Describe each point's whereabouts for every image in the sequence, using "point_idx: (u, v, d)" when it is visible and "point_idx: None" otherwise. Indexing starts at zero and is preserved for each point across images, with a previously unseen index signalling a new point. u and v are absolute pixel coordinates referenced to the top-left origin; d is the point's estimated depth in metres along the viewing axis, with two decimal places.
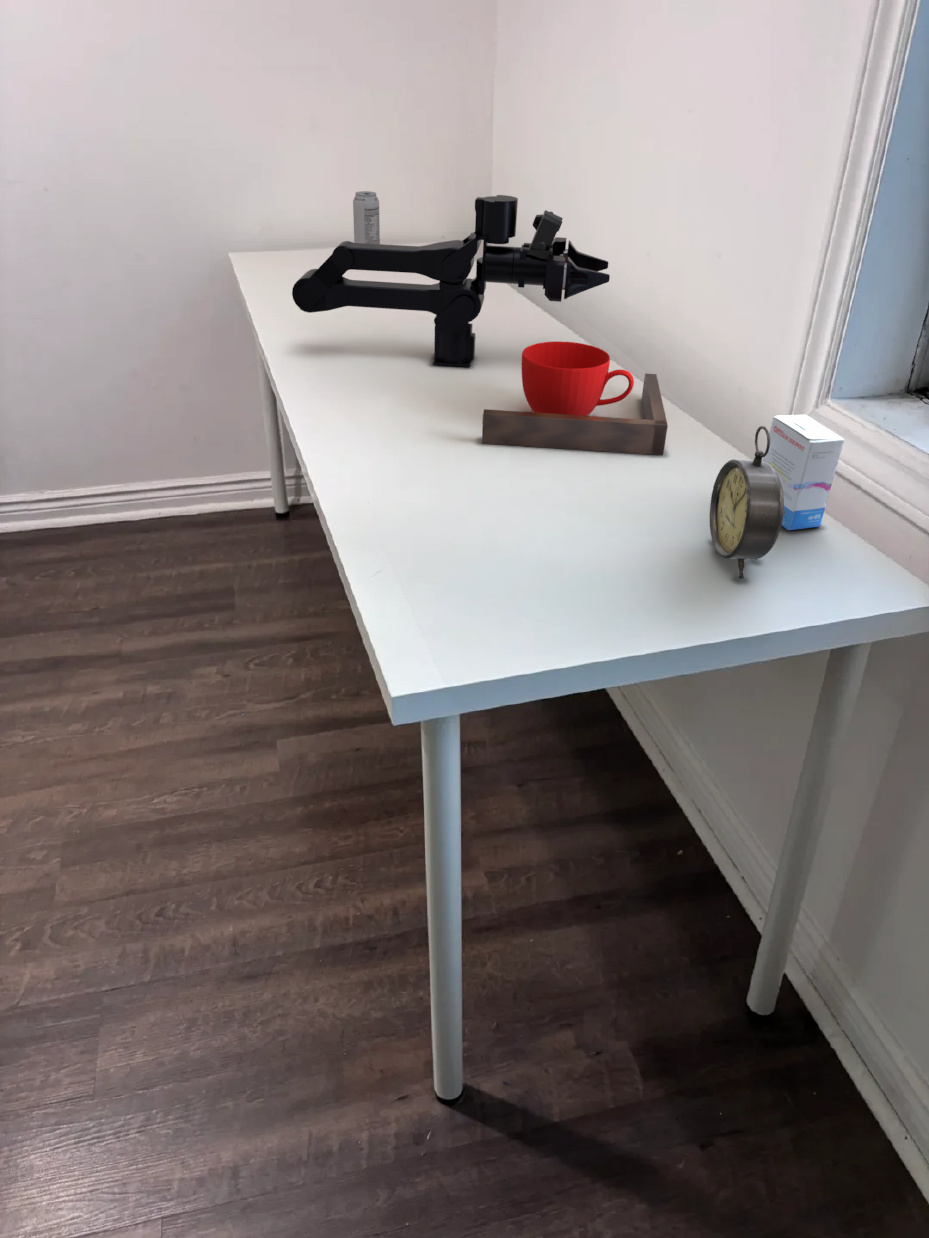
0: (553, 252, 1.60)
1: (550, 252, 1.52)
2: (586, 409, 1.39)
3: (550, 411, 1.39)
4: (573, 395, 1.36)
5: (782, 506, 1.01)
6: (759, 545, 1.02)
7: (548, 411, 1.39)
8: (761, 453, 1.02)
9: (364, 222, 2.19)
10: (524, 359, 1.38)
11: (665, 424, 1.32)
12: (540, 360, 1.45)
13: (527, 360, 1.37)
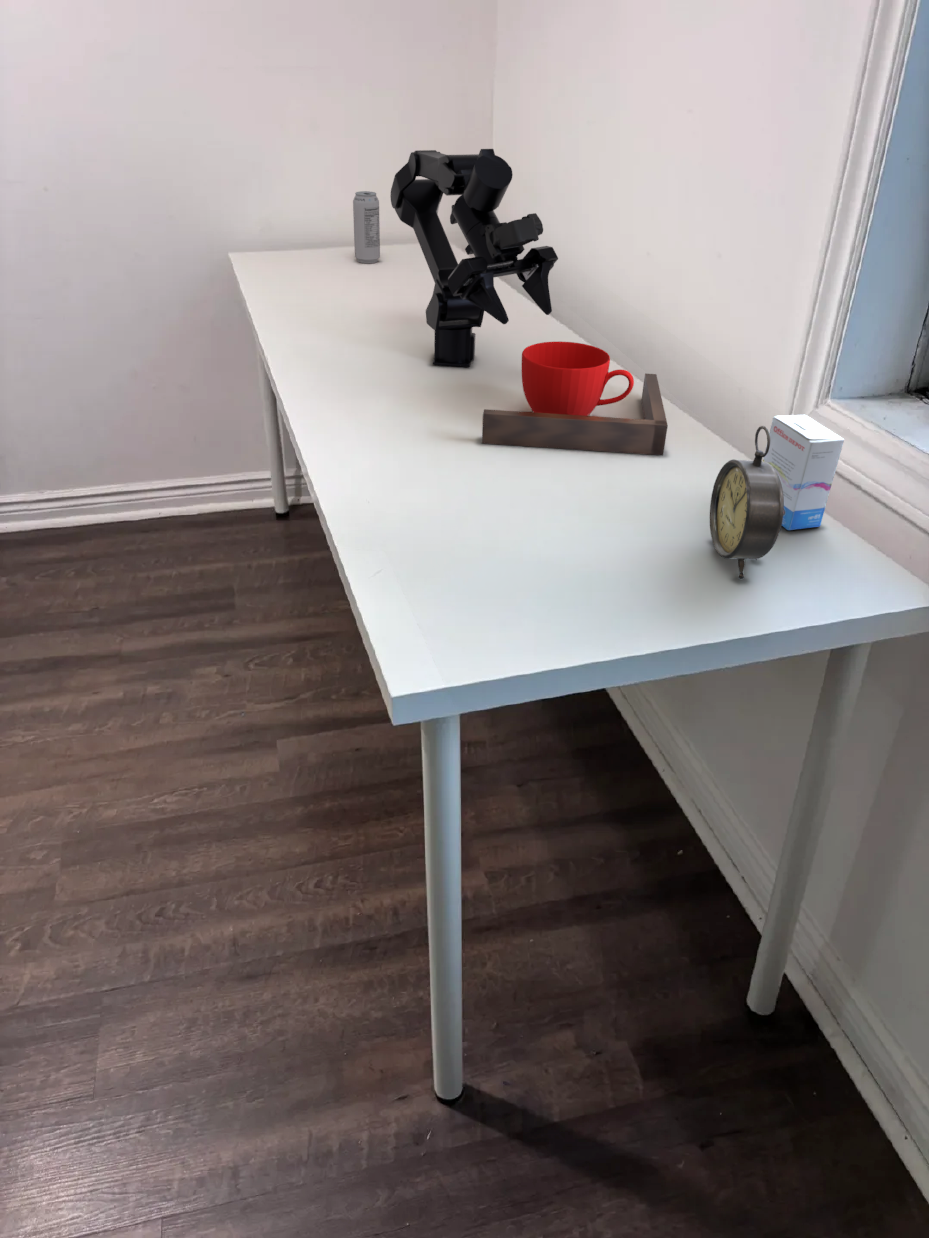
0: (530, 256, 1.47)
1: (495, 253, 1.41)
2: (586, 409, 1.39)
3: (550, 411, 1.39)
4: (573, 395, 1.36)
5: (782, 506, 1.01)
6: (759, 545, 1.02)
7: (548, 411, 1.39)
8: (761, 453, 1.02)
9: (364, 222, 2.19)
10: (524, 359, 1.38)
11: (665, 424, 1.32)
12: (540, 360, 1.45)
13: (527, 360, 1.37)
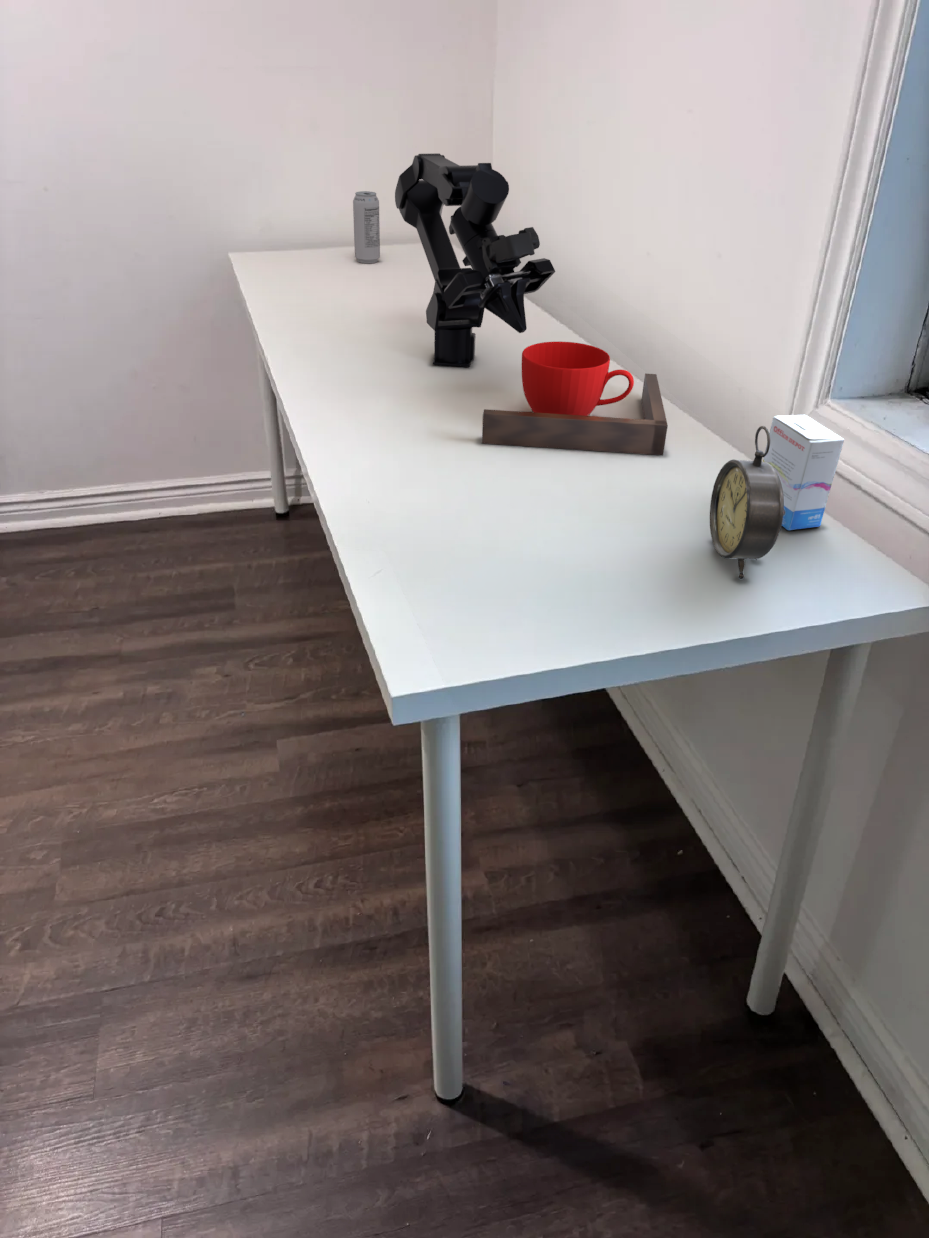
0: (527, 268, 1.48)
1: (491, 266, 1.42)
2: (586, 409, 1.39)
3: (550, 411, 1.39)
4: (573, 395, 1.36)
5: (782, 506, 1.01)
6: (759, 545, 1.02)
7: (548, 411, 1.39)
8: (761, 453, 1.02)
9: (364, 222, 2.19)
10: (524, 359, 1.38)
11: (665, 424, 1.32)
12: (540, 360, 1.45)
13: (527, 360, 1.37)
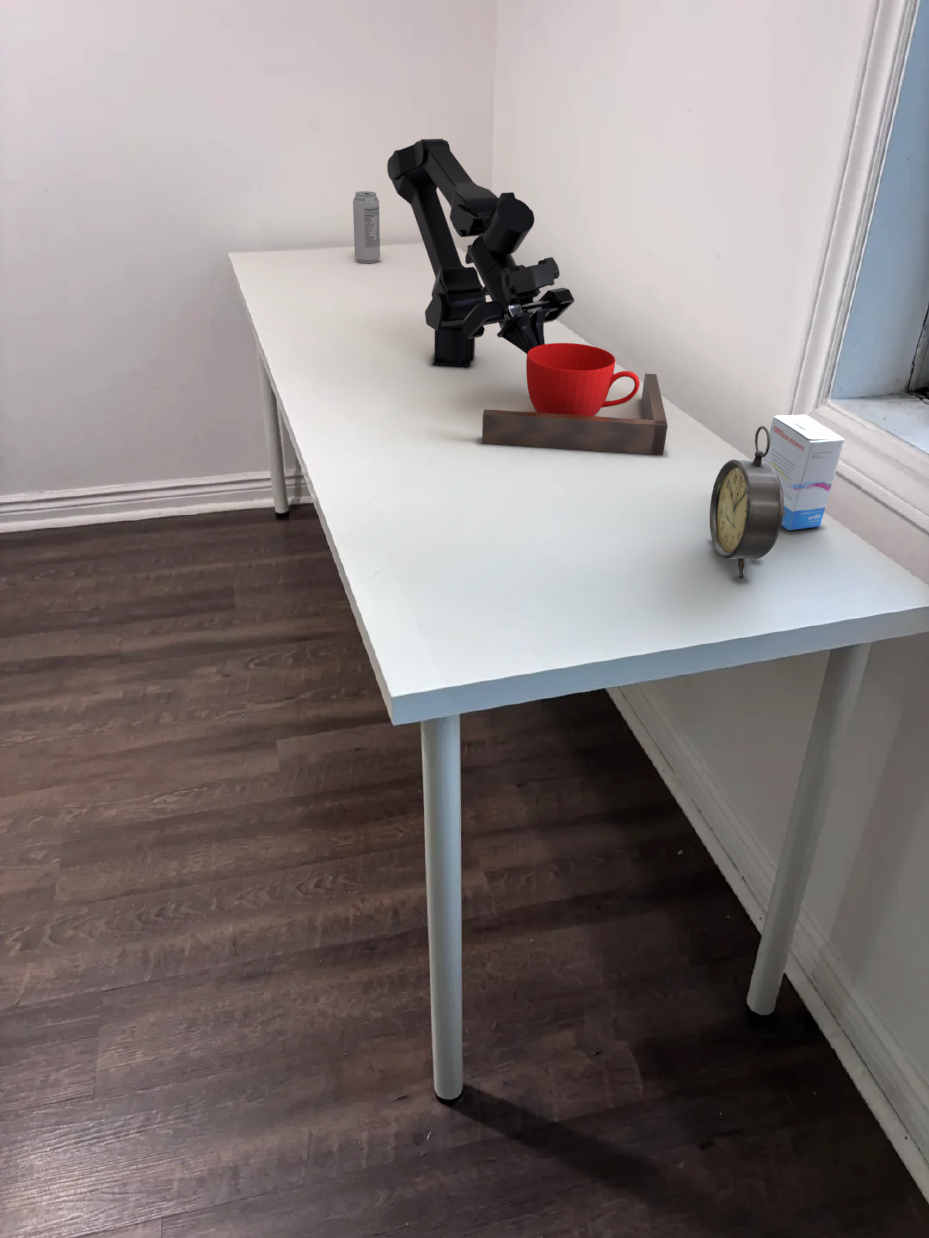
0: (547, 298, 1.47)
1: (511, 297, 1.41)
2: (592, 411, 1.38)
3: (556, 413, 1.38)
4: (579, 397, 1.35)
5: (782, 506, 1.01)
6: (759, 545, 1.02)
7: (554, 413, 1.38)
8: (761, 453, 1.02)
9: (364, 222, 2.19)
10: (529, 361, 1.37)
11: (665, 424, 1.32)
12: (544, 361, 1.44)
13: (533, 362, 1.36)
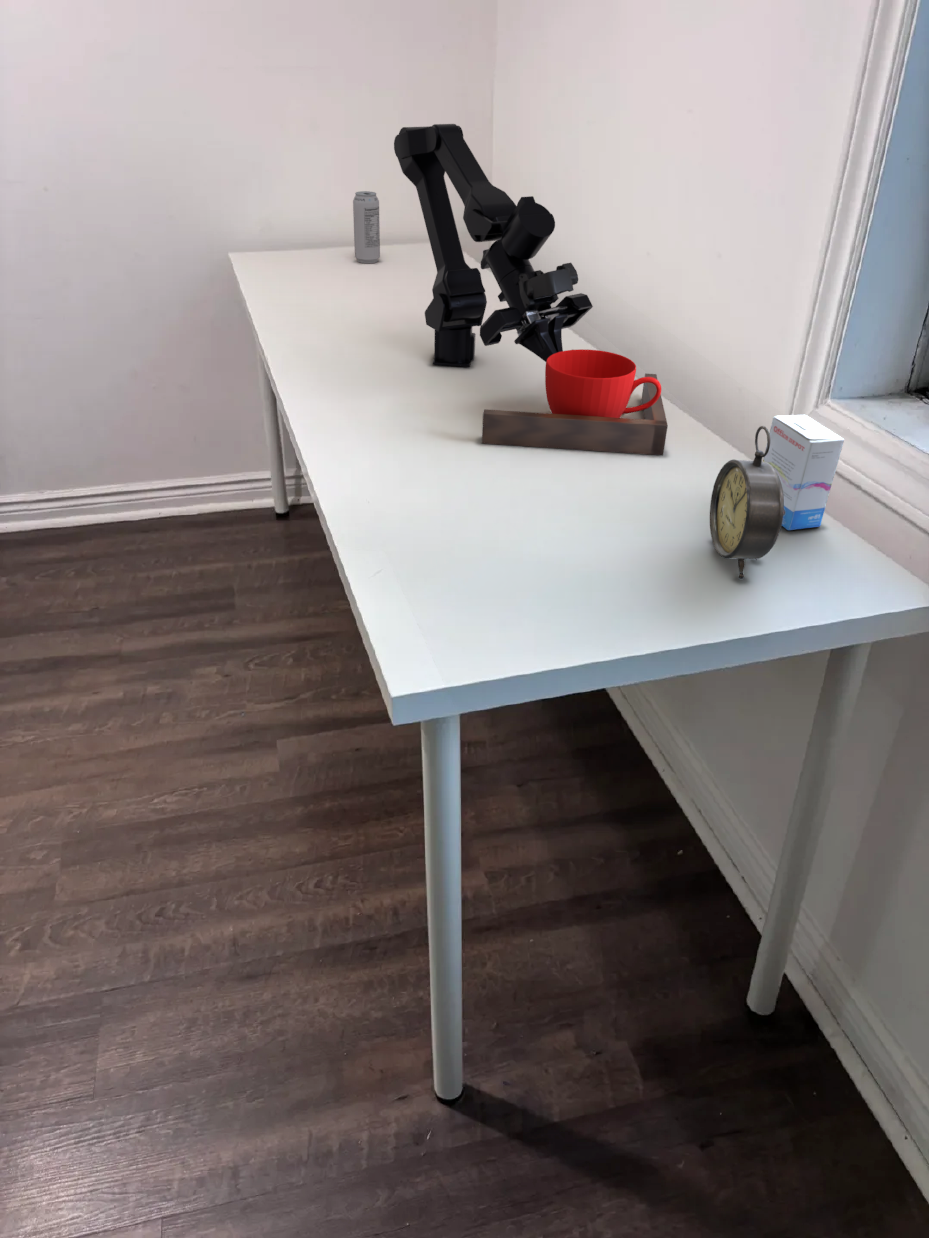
0: (564, 303, 1.44)
1: (529, 303, 1.39)
2: None
3: None
4: (603, 405, 1.33)
5: (782, 506, 1.01)
6: (759, 545, 1.02)
7: None
8: (761, 453, 1.02)
9: (364, 222, 2.19)
10: (550, 369, 1.34)
11: (665, 424, 1.32)
12: (561, 369, 1.41)
13: (554, 370, 1.33)
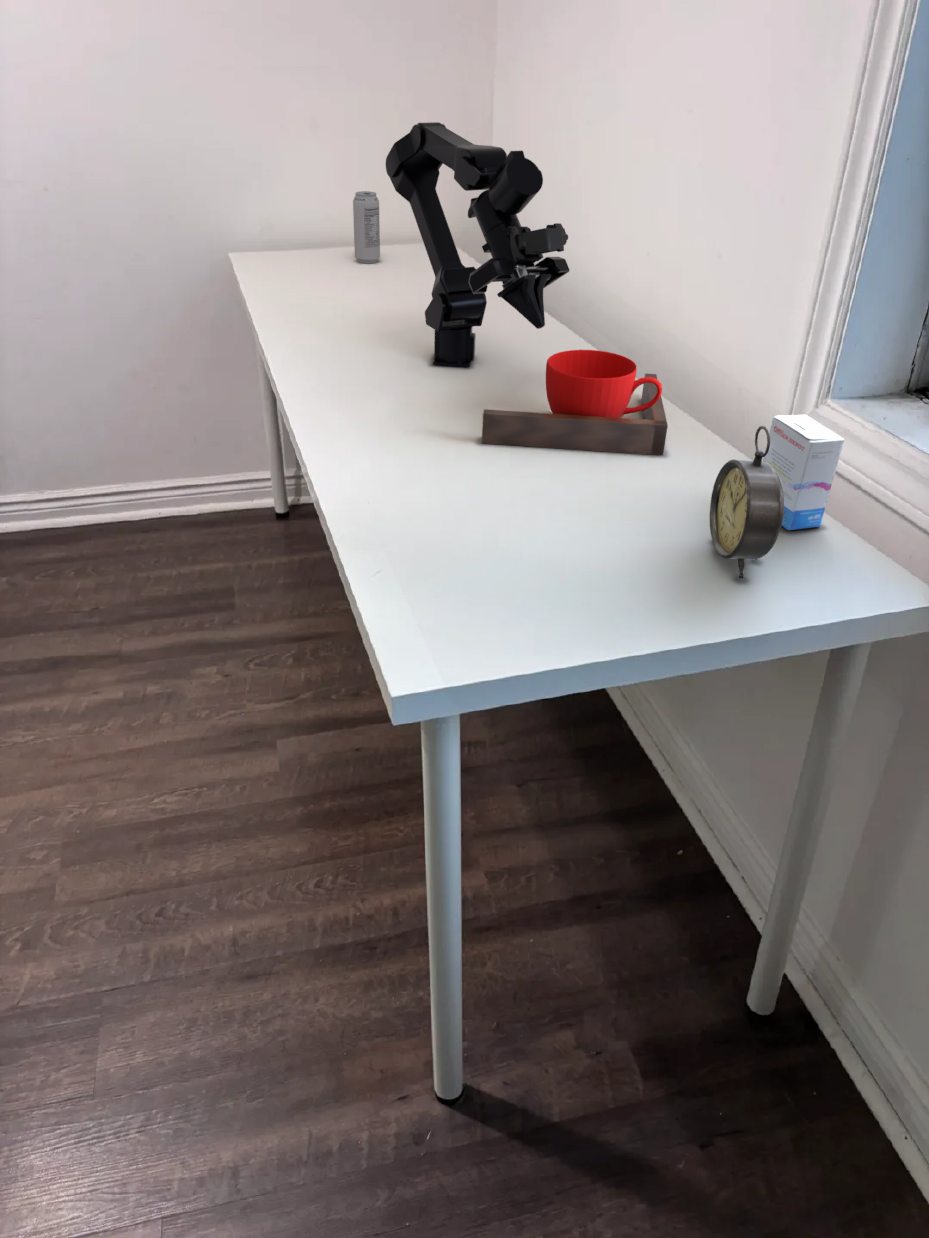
0: (544, 264, 1.46)
1: (520, 257, 1.39)
2: None
3: None
4: (604, 405, 1.33)
5: (782, 506, 1.01)
6: (759, 545, 1.02)
7: None
8: (761, 453, 1.02)
9: (364, 222, 2.19)
10: (551, 369, 1.34)
11: (665, 424, 1.32)
12: (561, 369, 1.41)
13: (555, 371, 1.33)
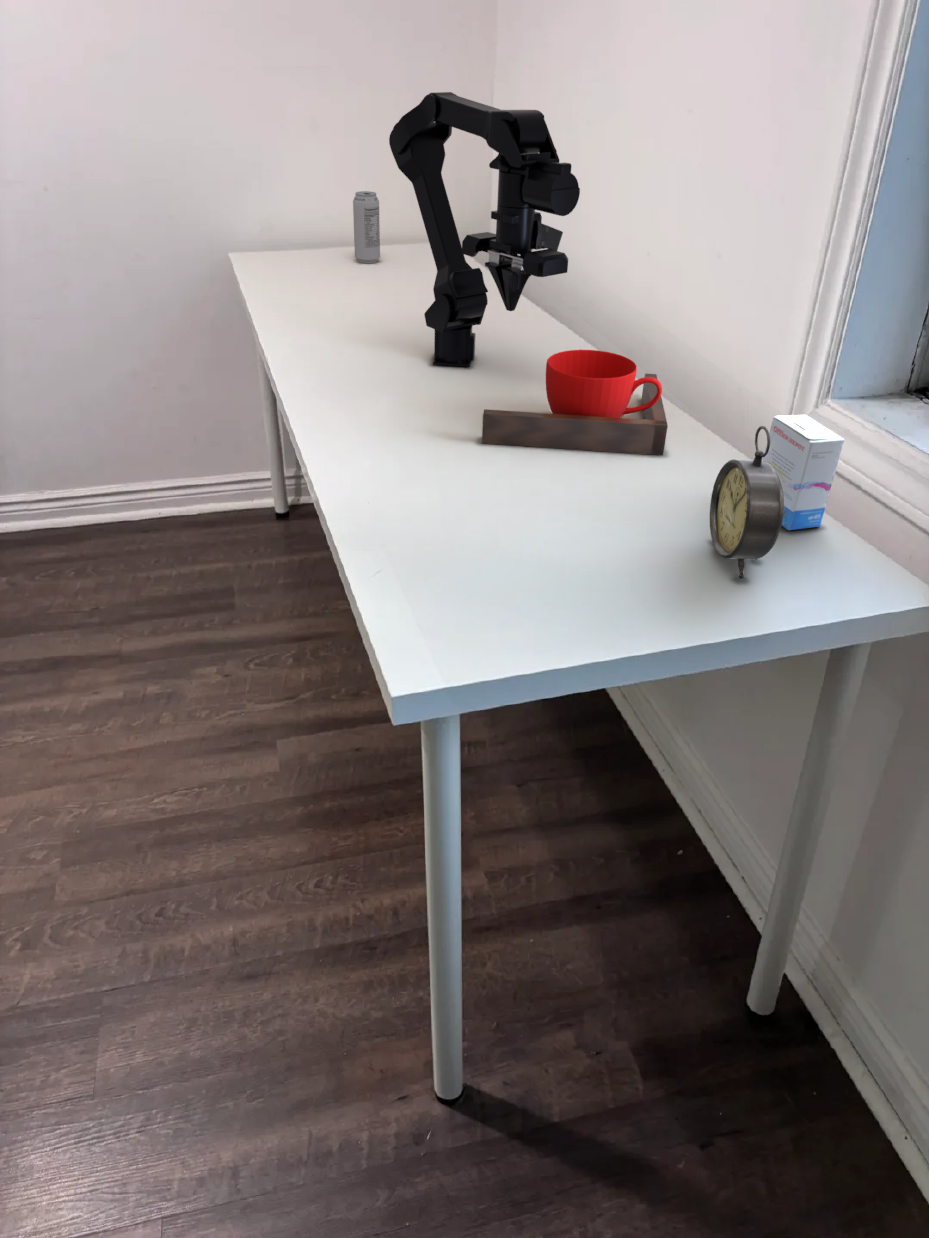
0: None
1: (541, 247, 1.45)
2: None
3: None
4: (604, 405, 1.33)
5: (782, 506, 1.01)
6: (759, 545, 1.02)
7: None
8: (761, 453, 1.02)
9: (364, 222, 2.19)
10: (551, 369, 1.34)
11: (665, 424, 1.32)
12: (561, 369, 1.41)
13: (555, 371, 1.33)
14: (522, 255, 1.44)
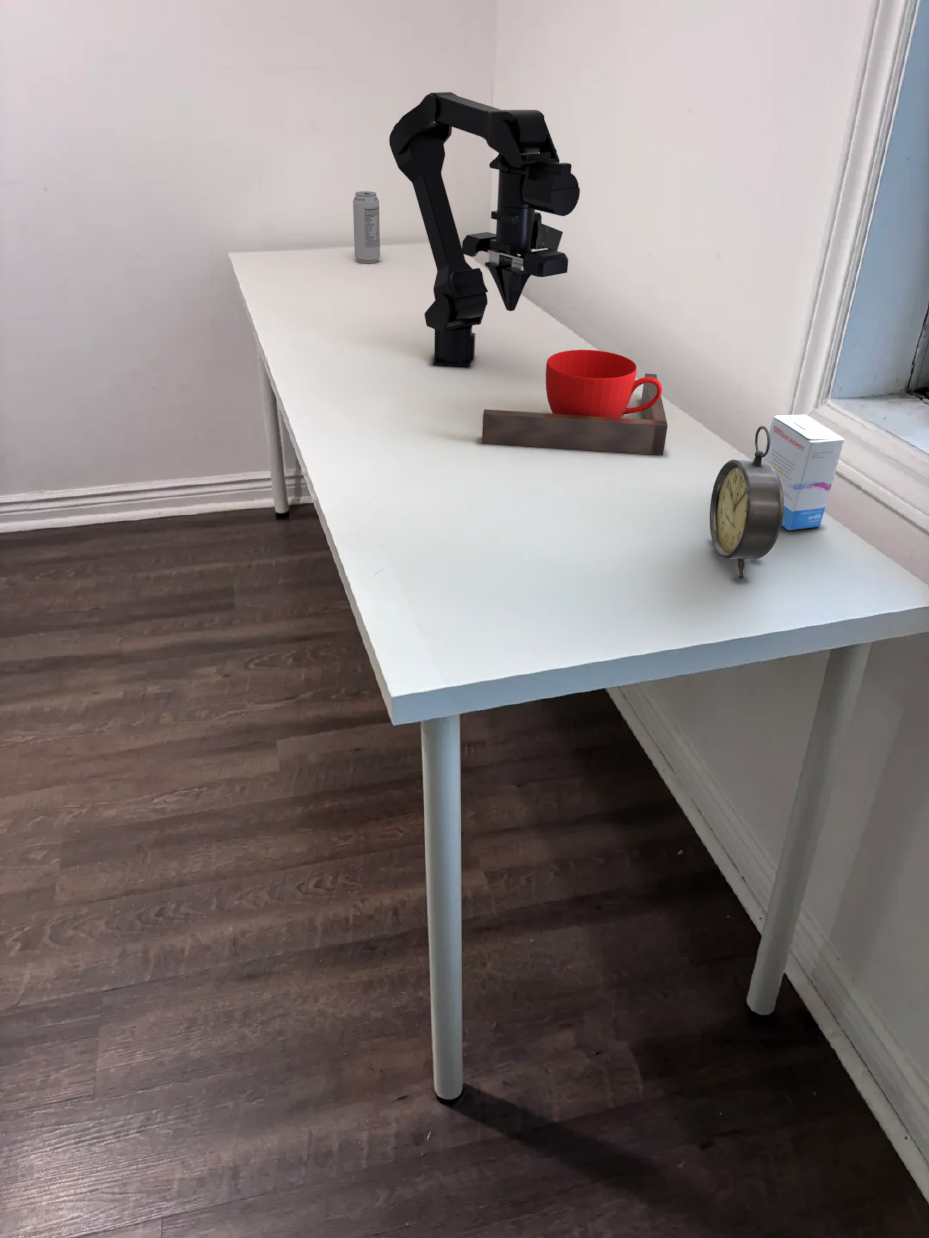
0: None
1: (541, 247, 1.45)
2: None
3: None
4: (604, 405, 1.33)
5: (782, 506, 1.01)
6: (759, 545, 1.02)
7: None
8: (761, 453, 1.02)
9: (364, 222, 2.19)
10: (551, 369, 1.34)
11: (665, 424, 1.32)
12: (561, 369, 1.41)
13: (555, 371, 1.33)
14: (522, 255, 1.44)
